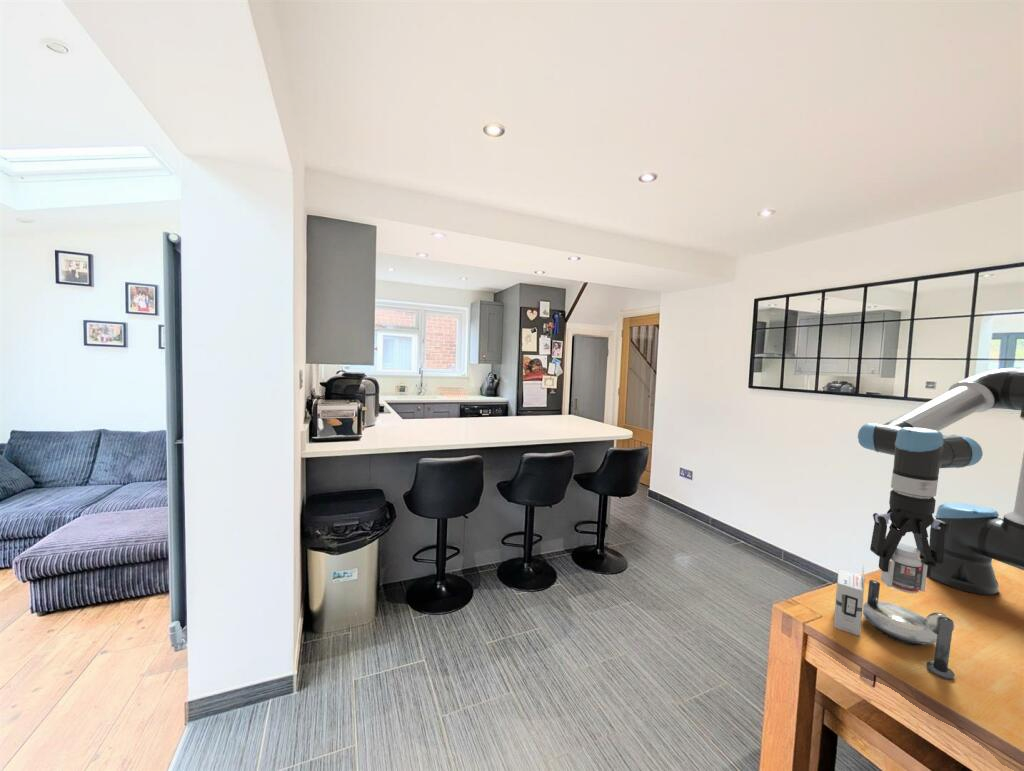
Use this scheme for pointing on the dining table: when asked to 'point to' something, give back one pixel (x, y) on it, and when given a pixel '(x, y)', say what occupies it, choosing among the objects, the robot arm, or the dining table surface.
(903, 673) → the dining table surface
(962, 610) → the dining table surface
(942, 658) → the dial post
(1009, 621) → the dining table surface
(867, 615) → the silver round piece
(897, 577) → the pill bottle
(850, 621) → the ink box
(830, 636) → the dining table surface
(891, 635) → the turntable base
